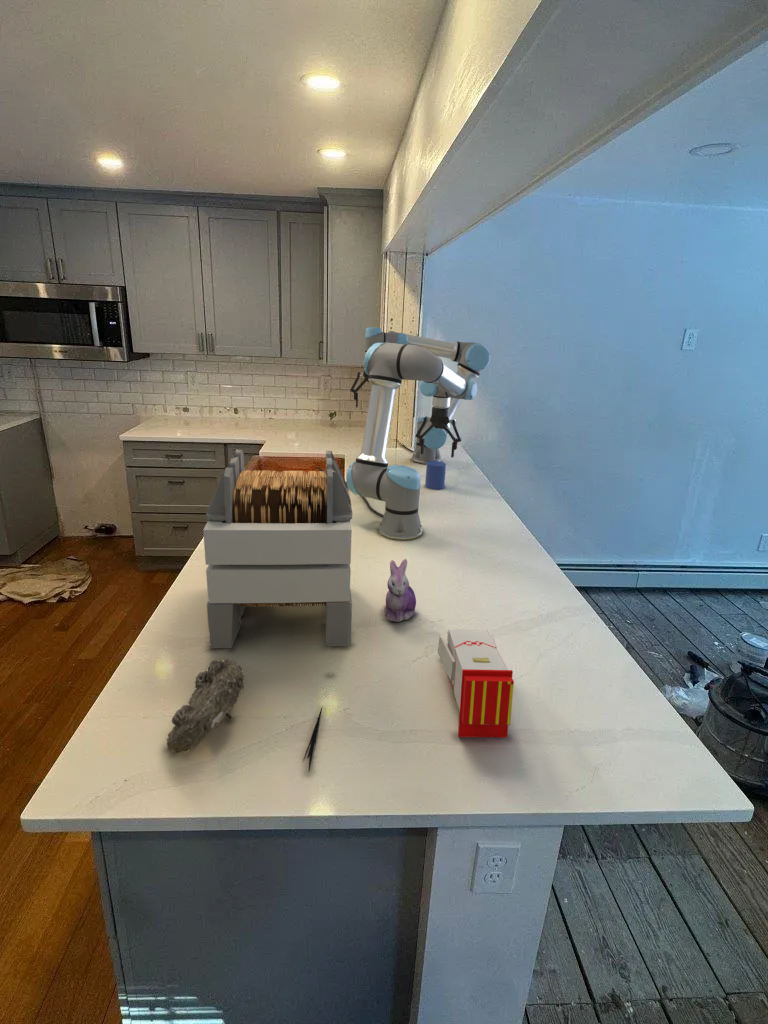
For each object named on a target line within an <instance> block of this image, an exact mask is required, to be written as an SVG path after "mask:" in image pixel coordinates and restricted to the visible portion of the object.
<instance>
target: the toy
mask: <svg viewBox="0 0 768 1024" xmlns="http://www.w3.org/2000/svg"><path fill="white" fill-rule="evenodd" d="M446 640H447V643H446V641H445V639H444V636H443V635H442V634H439V637H438V646H437V656H438V657H439V659H440V661H441V663H442V666H443V668H444V670H445V672H446V674H447V677H448V679H449V681H450V684H451V687H452V690H453V693H454V697H455V701H456V705H457V708H458V711H459V714H458V715H459V716H458V730H457V731H458V732H457V737H458V738H508V731H509V726H510V725H511V717H512V707H513V697H514V696H513V695H514V684H515V680H514V679H513V673H514V671H513V670H512V669H508V667H507V665H506V662H505V661H504V659H503V658H502V655H501V653H500V651H499V649H498V647H497V643H496V639H495V637H494V635H493V634H491V632H490V631H489V629H467V628H466V629H465V628H463V629H461V628H460V629H459V628H448V630H447V639H446Z"/></svg>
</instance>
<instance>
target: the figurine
mask: <svg viewBox="0 0 768 1024" xmlns="http://www.w3.org/2000/svg"><path fill="white" fill-rule="evenodd" d="M407 567H408V559H406V558H404V559H403V560H402V561H401V563H400V565H399V566H398V565H397V563H396V562H395V561H394V560H393V559H391V560H390V561H389V570H390V576H389V578H388V579H387V589H388V591H387V592H386V594H385V595H386V596H385V607H384V615H385V616H386V620H387V621H391V622H395V623H400V622H402V621H406V620H409V619H410V618H411V617H413V616H414V615H415V610H416V606H417V597H416V593H415V591H414V590H413V587H411V586H410V582H409V579H408V577H407V574H406V571H407Z"/></svg>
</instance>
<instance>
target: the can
mask: <svg viewBox="0 0 768 1024" xmlns="http://www.w3.org/2000/svg"><path fill="white" fill-rule="evenodd" d="M446 470H447V463H446V462H444V461H441V462H440V461H429V462H427V464H426V468H425V480H424V481H425V483H424V487H425V488H426V489H427V490H428V489H429V490H434V491H438V490H439V491H440V490H443V489H445V481H446Z"/></svg>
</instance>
